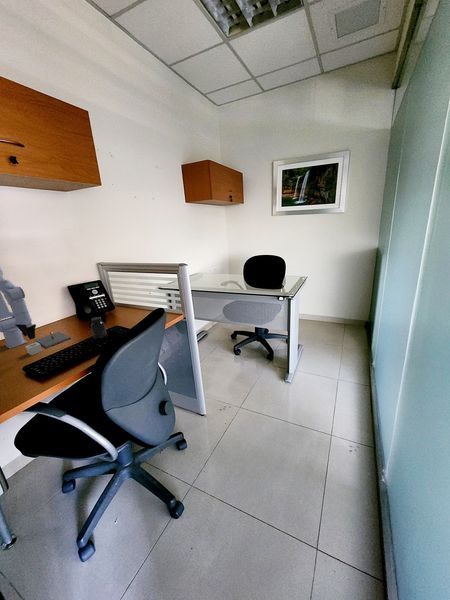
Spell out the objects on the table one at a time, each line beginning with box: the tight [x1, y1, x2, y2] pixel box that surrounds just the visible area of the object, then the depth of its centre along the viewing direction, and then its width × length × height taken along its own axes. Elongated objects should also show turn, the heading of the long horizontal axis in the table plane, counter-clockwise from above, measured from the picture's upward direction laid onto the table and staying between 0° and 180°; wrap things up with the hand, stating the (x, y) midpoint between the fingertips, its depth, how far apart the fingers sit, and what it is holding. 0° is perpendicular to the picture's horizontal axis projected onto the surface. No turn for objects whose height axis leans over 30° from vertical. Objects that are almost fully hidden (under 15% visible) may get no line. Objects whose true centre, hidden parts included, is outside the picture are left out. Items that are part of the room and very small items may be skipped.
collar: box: [25, 341, 44, 356], centre depth 123 cm, size 5×5×4 cm
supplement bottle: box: [90, 316, 108, 339], centre depth 132 cm, size 7×7×12 cm
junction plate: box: [35, 331, 71, 349], centre depth 135 cm, size 16×12×5 cm
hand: (29, 337), depth 121 cm, fingers open, 7 cm apart
